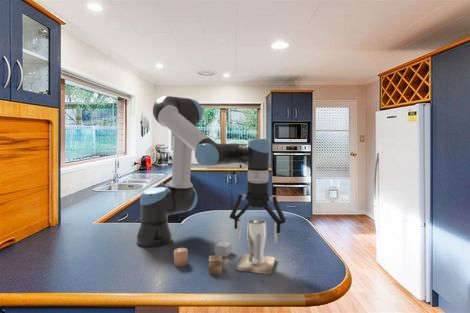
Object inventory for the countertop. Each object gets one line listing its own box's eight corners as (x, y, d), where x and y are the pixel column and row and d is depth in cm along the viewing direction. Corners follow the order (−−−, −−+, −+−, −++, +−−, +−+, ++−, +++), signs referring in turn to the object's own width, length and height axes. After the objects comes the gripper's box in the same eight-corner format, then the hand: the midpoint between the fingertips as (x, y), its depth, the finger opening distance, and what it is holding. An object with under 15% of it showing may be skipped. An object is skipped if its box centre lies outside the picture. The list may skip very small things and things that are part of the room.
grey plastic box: (214, 255, 114) (215, 245, 114) (220, 250, 119) (220, 241, 119) (226, 257, 112) (226, 247, 112) (231, 252, 117) (231, 243, 117)
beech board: (236, 269, 101) (236, 266, 101) (244, 256, 113) (244, 253, 113) (270, 274, 98) (270, 271, 98) (275, 260, 109) (275, 257, 109)
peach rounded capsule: (171, 265, 104) (171, 252, 104) (177, 260, 109) (177, 247, 109) (184, 267, 103) (184, 253, 103) (189, 261, 108) (189, 248, 107)
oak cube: (208, 273, 98) (208, 260, 98) (209, 267, 103) (209, 255, 103) (221, 273, 99) (222, 260, 98) (221, 267, 103) (221, 255, 103)
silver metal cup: (250, 266, 101) (250, 224, 100) (244, 258, 108) (244, 219, 107) (268, 264, 103) (269, 223, 102) (261, 257, 110) (262, 218, 109)
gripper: (221, 181, 103) (221, 239, 105) (292, 185, 97) (290, 247, 98) (227, 178, 111) (227, 232, 112) (294, 182, 104) (292, 239, 105)
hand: (256, 239), depth 105 cm, fingers open, 13 cm apart
